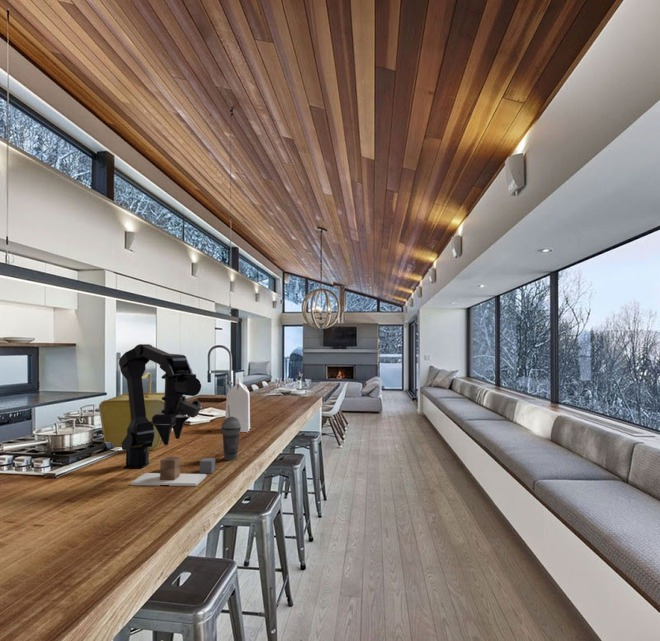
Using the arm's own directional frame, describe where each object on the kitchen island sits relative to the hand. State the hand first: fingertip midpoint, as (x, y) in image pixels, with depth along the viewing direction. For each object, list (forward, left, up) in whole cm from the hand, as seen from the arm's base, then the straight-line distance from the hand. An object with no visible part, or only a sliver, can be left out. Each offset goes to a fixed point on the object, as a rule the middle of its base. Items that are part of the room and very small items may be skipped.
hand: (172, 441), depth 147 cm
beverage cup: (+13, +23, -11) cm, 29 cm away
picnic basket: (-31, +46, -11) cm, 56 cm away
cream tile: (+1, -5, -11) cm, 12 cm away
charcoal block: (+10, +6, -11) cm, 16 cm away
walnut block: (+1, -5, -10) cm, 11 cm away
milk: (+2, +80, -11) cm, 81 cm away
